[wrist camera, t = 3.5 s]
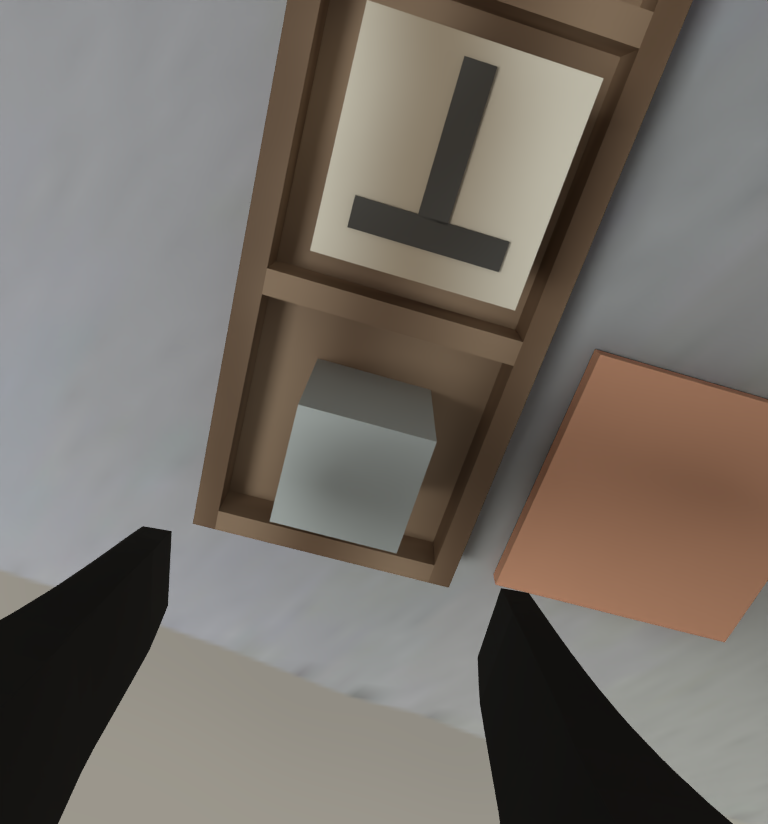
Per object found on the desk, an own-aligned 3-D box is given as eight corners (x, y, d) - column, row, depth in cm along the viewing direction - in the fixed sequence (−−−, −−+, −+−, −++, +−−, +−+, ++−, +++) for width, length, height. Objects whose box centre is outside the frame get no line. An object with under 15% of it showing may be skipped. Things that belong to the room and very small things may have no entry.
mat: (857, 425, 21) (869, 432, 20) (717, 631, 25) (724, 642, 24) (595, 348, 20) (600, 354, 19) (493, 574, 24) (495, 584, 23)
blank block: (430, 389, 20) (436, 441, 16) (397, 486, 22) (396, 553, 18) (317, 358, 20) (297, 404, 16) (292, 458, 21) (269, 521, 18)
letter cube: (548, 99, 17) (605, 77, 12) (487, 272, 18) (515, 311, 14) (377, 44, 16) (366, -2, 11) (333, 226, 18) (309, 251, 13)
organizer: (833, -415, 13) (904, -510, 11) (445, 553, 24) (448, 587, 22) (415, -590, 12) (417, -723, 10) (209, 494, 23) (192, 523, 21)
